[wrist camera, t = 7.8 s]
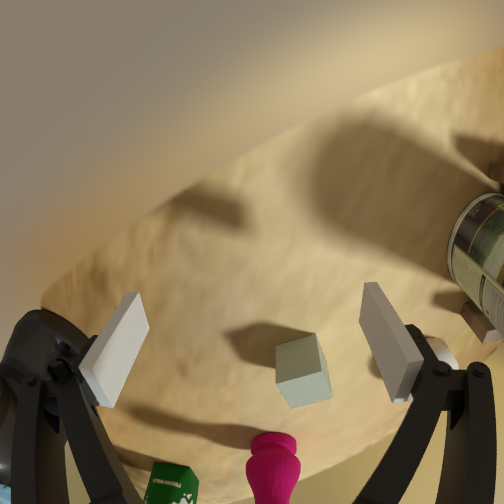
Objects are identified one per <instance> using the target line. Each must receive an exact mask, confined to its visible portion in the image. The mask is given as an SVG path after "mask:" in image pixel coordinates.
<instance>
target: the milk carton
mask: <svg viewBox="0 0 504 504" xmlns="http://www.w3.org/2000/svg"><path fill="white" fill-rule="evenodd" d="M198 486H199V480H198V479H197V477H196V476H195V474H194V473H193V471H192V470H191V468H190V467H185V466H177V465H171V464H164V463H158V462H154V464H153V468H152V472H151V475H150V479H149V483H148V486H147V490H146V493H145V496H144V500H143V502H144V504H196V502H197V496H198Z"/></svg>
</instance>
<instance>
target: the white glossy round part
mask: <svg viewBox="0 0 504 504" xmlns="http://www.w3.org/2000/svg"><path fill="white" fill-rule="evenodd" d="M425 339H426V340H427V343H429V345H430V347H431V348H432V350H433V351H434V353H435V355H436V356H437V358H438V360H439V361H444V362H446V363H448V364H449V365H450V366H451V367H452V369H455V370H458V363H457V361H456V359H455V358H454V356H453V354H452V353H451V351H450V349H449V348H448V346H447V345H446V343H445V341H444V340H442V339H440V338H437V337H430V338H425ZM407 401H408V402H412V401H413V397H412V395H411V393H410V395H409V397H408V399H407Z"/></svg>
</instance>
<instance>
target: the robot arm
mask: <svg viewBox="0 0 504 504" xmlns="http://www.w3.org/2000/svg"><path fill="white" fill-rule="evenodd" d="M359 323H360V325H361V328H362V330H363V332H364V335H365V337H366V339H367V342H368V344H369V346H370V349H371V351H372V353H373V356H374V358H375V361H376V363H377V366H378V368H379V371H380V373H381V376H382V378H383V381H384V383H385V386H386V388H387V391H388V393H389V396H390V399H391V401H392V404H395V403H399V402H404V401H407V399H408V397H409V395H410V393H411V395H412V397H413V401H412V403H411V405H410V407H409V409H408V411H407V413H406V415H405V417H404V419H403V421H402V423H401V425H400V427H399V429H398V431H397V433H396V435H395V437H394V439H393V440H392V442H391V444H390V446H389V447H388V449H387V451H386V453H385V454H384V456H383V458H382V459H381V461H380V463H379V464H378V466H377V467H376V469H375V471H374V472H373V474H372V475H371V477H370V478H369V480H368V481H367V483H366V484H365V486H364V487H363V489H362V490H361V492H360V493H359V495H358V496H357V497H356V499H355V500H354V501H353V503H352V504H398V503H399V501H400V500H401V498H402V496H403V494H404V493H405V491H406V489H407V487H408V485H409V483H410V481H411V480H412V478H413V476H414V474H415V472H416V470H417V468H418V466H419V464H420V461H421V459H422V457H423V455H424V453H425V451H426V448H427V446H428V444H429V441H430V439H431V436H432V434H433V432H434V429H435V427H436V424H437V422H438V419H439V416H440V414H441V411H447V427H446V440H445V449H444V457H443V464H442V471H441V477H440V483H439V488H438V493H437V498H436V503H435V504H493V503H494V494H495V481H496V460H497V459H496V458H497V457H496V456H497V449H496V448H497V447H496V446H497V440H496V417H495V404H494V394H493V386H492V378H491V372H490V369H489V368H488V367H487V365H485V364H484V363H481V362H472V363H470V365H469V366H468V367H467V370H455V369H452V367H451V366H450V365H449V364H448V363H446V362H444V361H439V360H438V358H437V356H436V355H435V353H434V351H433V350H432V348H431V347H430V345H429V343H427V340H426V339H425V337H424V335H423V334H422V332H421V331H420V329H418V328H417V327H416V326H414V325H413V324H409V325H404V324H403V323H402V321H401V319H400V318H399V316H398V314H397V313H396V311H395V310H394V308H393V306H392V305H391V303H390V302H389V300H388V299H387V297H386V296H385V294H384V292H383V291H382V289H381V288H380V286H379V285H378V283H377V282H368V283H364V290H363V297H362V304H361V311H360V318H359ZM148 331H149V325H148V322H147V319H146V315H145V312H144V308H143V305H142V301H141V298H140V294H139V292H128V293H127V294H126V296H125V297H124V298H123V300H122V301H121V303H120V304H119V306H118V307H117V308H116V310H115V311H114V313H113V314H112V316H111V317H110V319H109V320H108V322H107V323H106V325H105V326H104V328H103V329H102V331H101V332H100V334H99V335H94V336H92V337H91V338H90V339H88V338H87V337H86V336H85V335H84V334H82V333H81V332H80V331H79V330H78V329H77V328H75V327H74V326H73V325H72V324H70V323H69V322H67V321H66V320H64V319H63V318H61V317H59V316H57V315H55V314H53V313H51V312H48V311H44V310H32V311H29V312H27V313H26V314H25V315H24V316H23V317H22V318H21V319H20V320H19V321H18V323H17V324H16V325H15V328H14V330H13V333H12V335H11V338H10V340H9V342H8V345H7V347H6V350H5V353H4V356H3V358H2V360H1V362H0V504H70V503H69V496H68V488H67V478H66V468H65V451H64V446H65V444H66V442H67V440H68V442H69V445H70V448H71V451H72V454H73V457H74V460H75V463H76V466H77V468H78V471H79V473H80V476H81V478H82V481H83V483H84V486H85V488H86V491H87V493H88V495H89V497H90V500H91V502H90V503H89V504H144V502H143V500H142V499H141V497H140V496H139V494H138V493H137V491H136V489H135V487H134V485H133V484H132V482H131V480H130V478H129V477H128V475H127V473H126V471H125V469H124V467H123V465H122V464H121V462H120V460H119V458H118V456H117V454H116V452H115V450H114V448H113V446H112V443H111V441H110V439H109V437H108V435H107V433H106V430H105V428H104V426H103V424H102V421H101V419H100V417H99V414H98V412H97V409H96V406H98V405H99V404H100V405H101V406H104V407H109V408H114V406H115V403H116V401H117V399H118V397H119V394H120V392H121V390H122V387H123V385H124V383H125V381H126V378H127V376H128V374H129V372H130V370H131V367H132V365H133V363H134V361H135V359H136V357H137V354H138V352H139V350H140V348H141V346H142V344H143V342H144V340H145V337H146V335H147V333H148Z"/></svg>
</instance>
